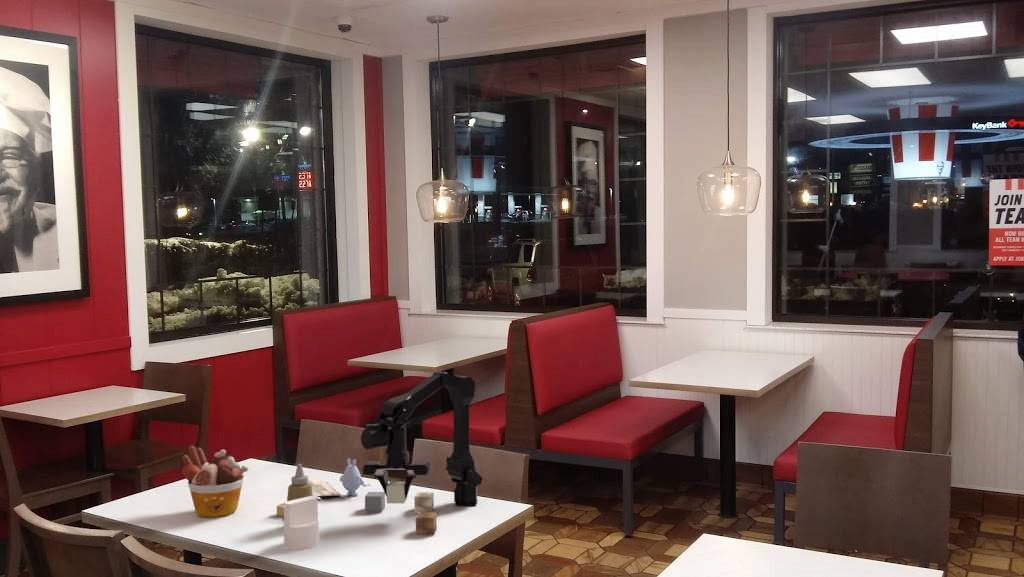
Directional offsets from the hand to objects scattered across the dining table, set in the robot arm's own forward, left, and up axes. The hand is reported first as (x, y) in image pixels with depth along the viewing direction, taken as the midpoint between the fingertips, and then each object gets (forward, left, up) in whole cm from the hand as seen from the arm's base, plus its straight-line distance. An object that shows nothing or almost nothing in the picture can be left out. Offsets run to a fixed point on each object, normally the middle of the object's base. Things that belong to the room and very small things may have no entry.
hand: (396, 497), depth 259 cm
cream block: (-6, -11, -7) cm, 15 cm away
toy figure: (+20, -27, -7) cm, 34 cm away
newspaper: (+33, -31, -8) cm, 46 cm away
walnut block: (-10, +10, -7) cm, 16 cm away
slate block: (+9, -11, -7) cm, 16 cm away
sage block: (0, 0, -1) cm, 1 cm away
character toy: (+33, -3, -8) cm, 34 cm away
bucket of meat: (+57, -7, -7) cm, 58 cm away
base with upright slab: (+22, +21, -7) cm, 31 cm away
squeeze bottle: (+27, +6, -7) cm, 28 cm away
